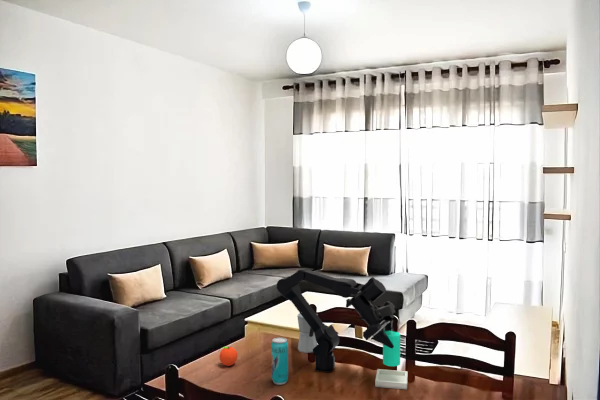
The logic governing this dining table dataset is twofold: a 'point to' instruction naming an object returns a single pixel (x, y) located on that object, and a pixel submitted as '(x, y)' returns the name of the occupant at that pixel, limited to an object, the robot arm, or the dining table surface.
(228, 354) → the clementine
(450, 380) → the dining table surface
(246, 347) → the dining table surface
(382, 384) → the tray
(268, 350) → the dining table surface
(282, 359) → the beverage can
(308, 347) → the coffee maker
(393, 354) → the candle
